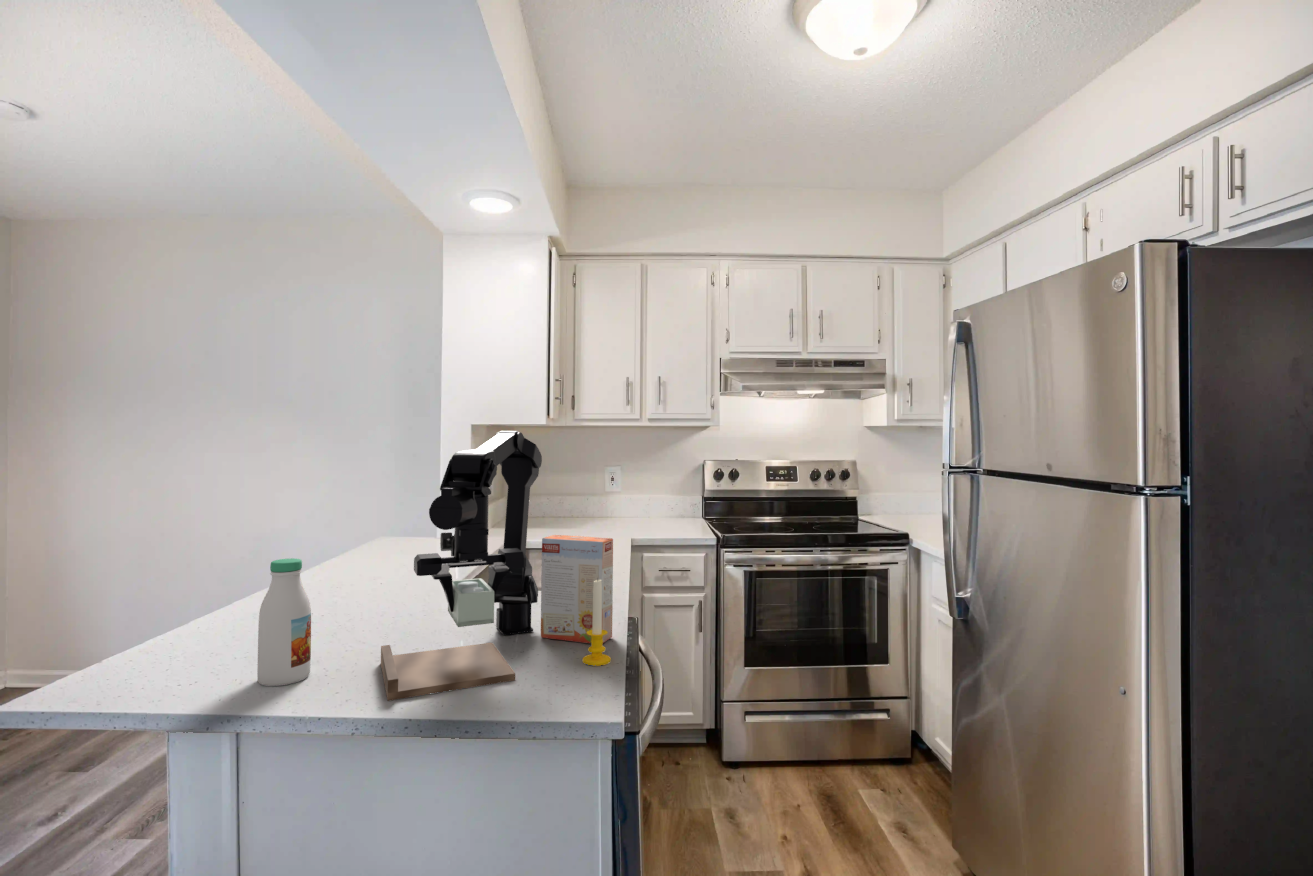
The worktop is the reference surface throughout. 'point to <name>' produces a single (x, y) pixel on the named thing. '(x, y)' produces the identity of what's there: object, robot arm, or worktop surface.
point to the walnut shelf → (442, 670)
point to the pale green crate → (472, 602)
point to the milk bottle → (284, 627)
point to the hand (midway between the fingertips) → (470, 609)
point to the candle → (597, 631)
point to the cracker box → (575, 586)
